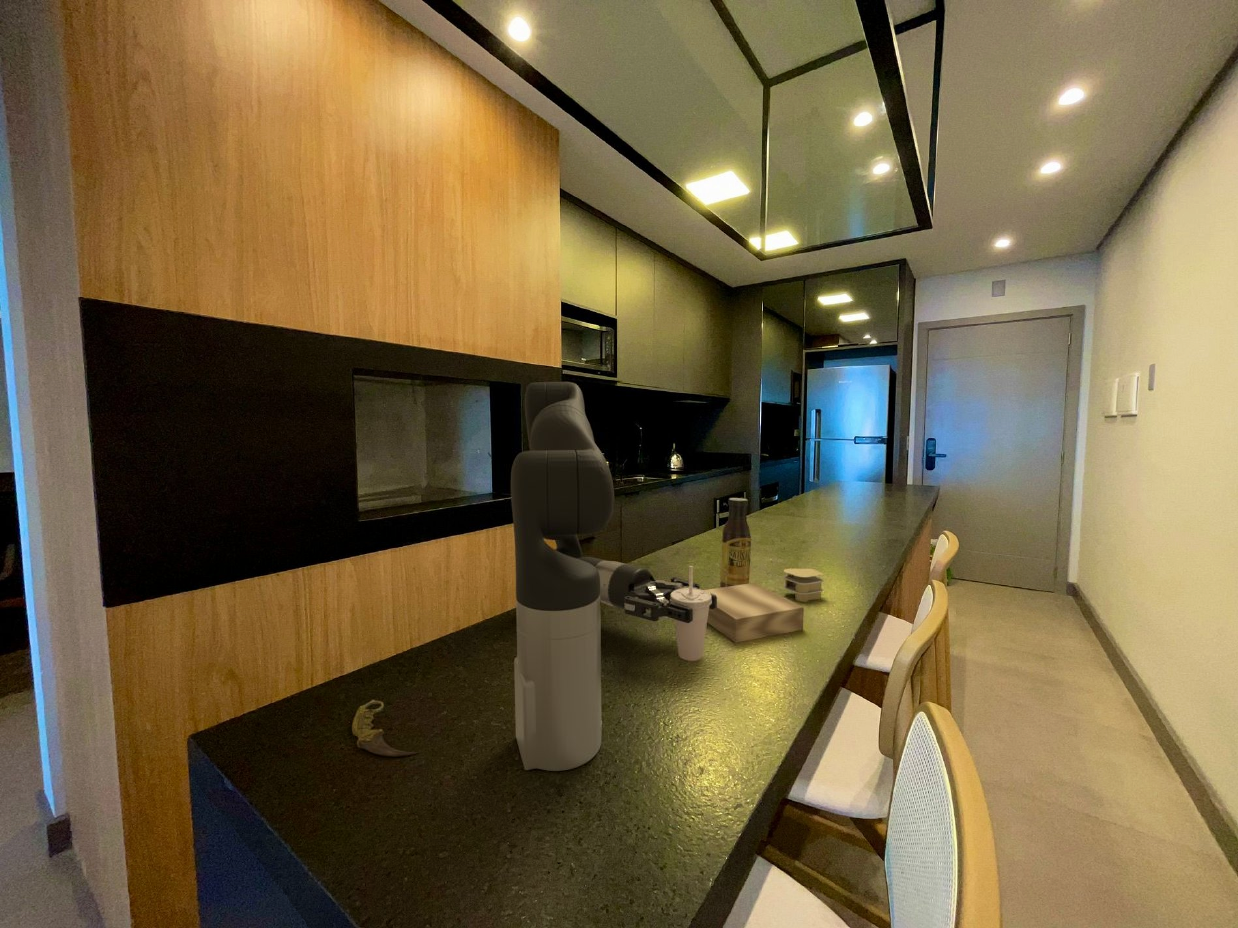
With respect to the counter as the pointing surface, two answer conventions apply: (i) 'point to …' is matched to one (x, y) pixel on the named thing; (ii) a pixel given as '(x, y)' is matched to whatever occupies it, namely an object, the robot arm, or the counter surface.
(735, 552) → the sauce bottle
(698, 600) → the smoothie
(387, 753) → the knife
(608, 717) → the counter surface
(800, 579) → the stacked layers on plate
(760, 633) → the riser
